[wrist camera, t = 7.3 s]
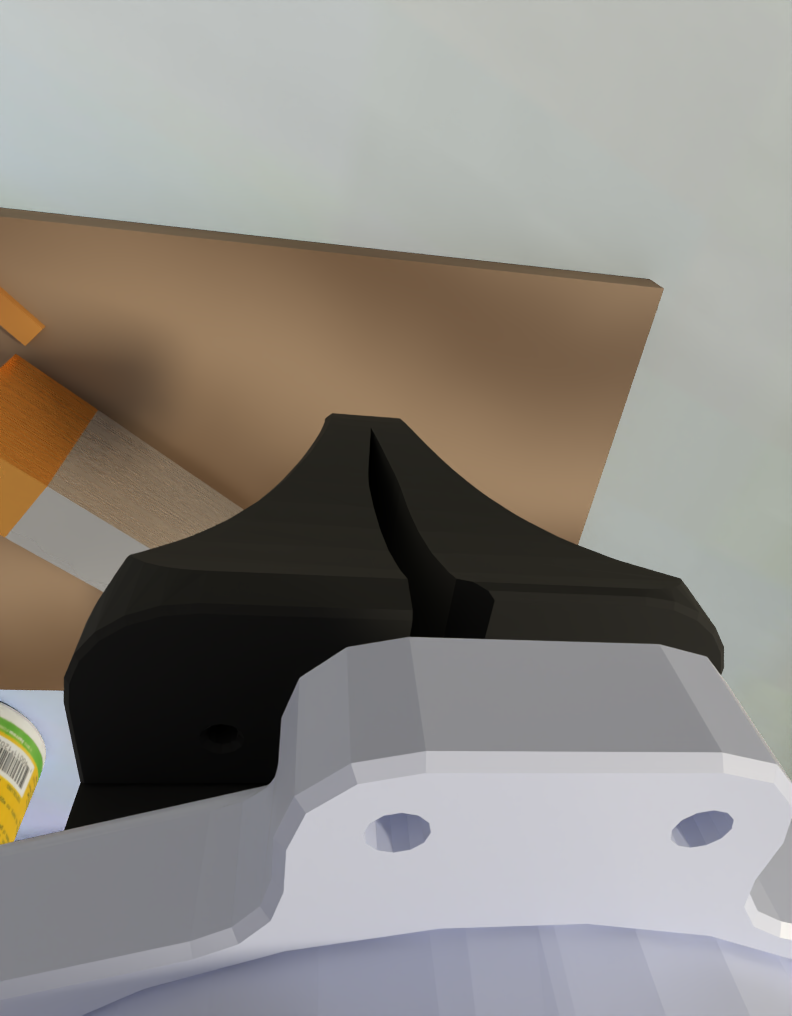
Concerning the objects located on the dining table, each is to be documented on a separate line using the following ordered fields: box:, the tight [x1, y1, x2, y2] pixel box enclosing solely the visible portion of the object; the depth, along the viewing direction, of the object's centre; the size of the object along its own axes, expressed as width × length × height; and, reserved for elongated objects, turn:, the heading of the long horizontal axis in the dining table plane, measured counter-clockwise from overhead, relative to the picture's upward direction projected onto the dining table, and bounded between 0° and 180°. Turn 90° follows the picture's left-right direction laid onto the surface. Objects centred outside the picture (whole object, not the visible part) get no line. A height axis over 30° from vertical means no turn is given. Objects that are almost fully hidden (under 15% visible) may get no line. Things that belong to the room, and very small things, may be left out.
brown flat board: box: [0, 208, 664, 691], centre depth 18 cm, size 14×18×1 cm
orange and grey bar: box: [0, 354, 243, 592], centre depth 16 cm, size 12×5×3 cm, turn 45°
